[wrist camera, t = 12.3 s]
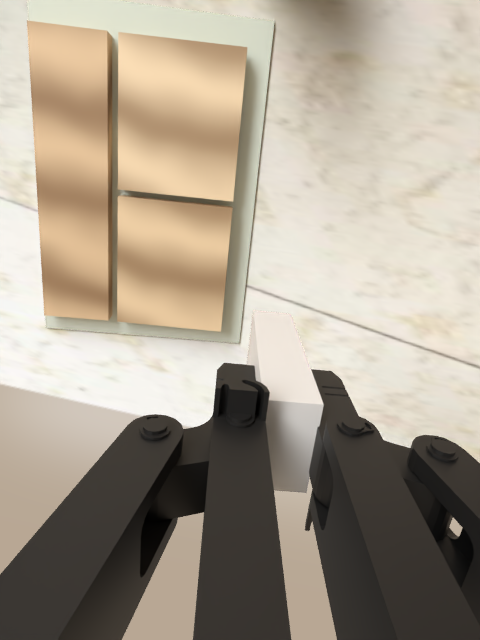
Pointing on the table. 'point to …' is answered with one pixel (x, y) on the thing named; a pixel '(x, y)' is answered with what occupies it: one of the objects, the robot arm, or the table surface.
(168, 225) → the plank
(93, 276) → the laid floorboard
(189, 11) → the underlay sheet
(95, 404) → the table surface
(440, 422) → the table surface
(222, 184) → the plank
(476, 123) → the table surface
